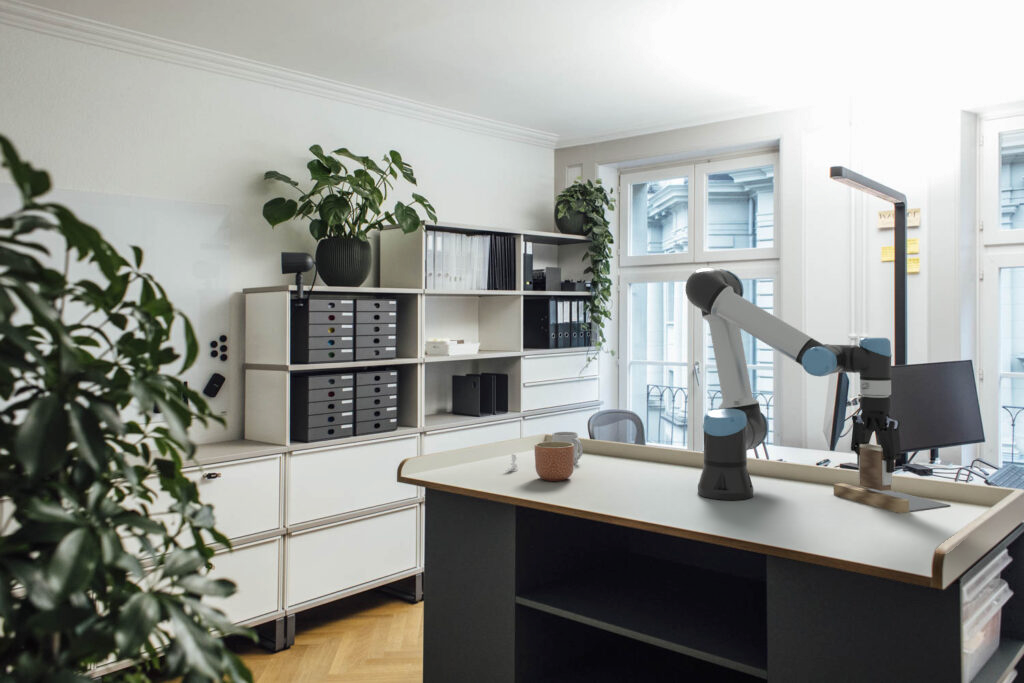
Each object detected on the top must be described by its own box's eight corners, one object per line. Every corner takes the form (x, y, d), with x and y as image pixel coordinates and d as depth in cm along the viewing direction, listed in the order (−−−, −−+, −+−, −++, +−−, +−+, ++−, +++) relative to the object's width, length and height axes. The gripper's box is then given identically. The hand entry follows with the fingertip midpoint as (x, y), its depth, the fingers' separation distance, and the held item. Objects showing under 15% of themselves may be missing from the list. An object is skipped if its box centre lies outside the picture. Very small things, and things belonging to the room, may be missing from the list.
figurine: (508, 475, 246) (508, 456, 246) (497, 471, 253) (496, 453, 253) (529, 472, 250) (529, 454, 250) (517, 468, 257) (517, 450, 257)
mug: (550, 460, 269) (550, 432, 269) (577, 459, 270) (576, 431, 270) (555, 466, 258) (555, 436, 258) (583, 464, 259) (582, 435, 259)
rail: (833, 494, 211) (833, 484, 211) (842, 493, 212) (842, 483, 212) (899, 513, 190) (899, 501, 190) (908, 512, 191) (908, 500, 191)
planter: (569, 484, 229) (568, 448, 229) (529, 482, 233) (529, 446, 233) (578, 476, 241) (578, 441, 241) (541, 474, 245) (540, 440, 245)
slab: (859, 485, 204) (859, 444, 204) (869, 484, 206) (869, 443, 205) (880, 490, 198) (880, 448, 198) (890, 489, 199) (891, 447, 199)
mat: (843, 493, 212) (843, 492, 212) (881, 488, 217) (881, 487, 217) (910, 511, 192) (910, 510, 192) (950, 506, 197) (950, 504, 197)
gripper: (835, 393, 209) (835, 475, 210) (895, 400, 190) (895, 490, 191) (856, 391, 212) (856, 473, 212) (918, 398, 193) (917, 488, 194)
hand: (875, 481), depth 202 cm, fingers closed on slab, 7 cm apart
